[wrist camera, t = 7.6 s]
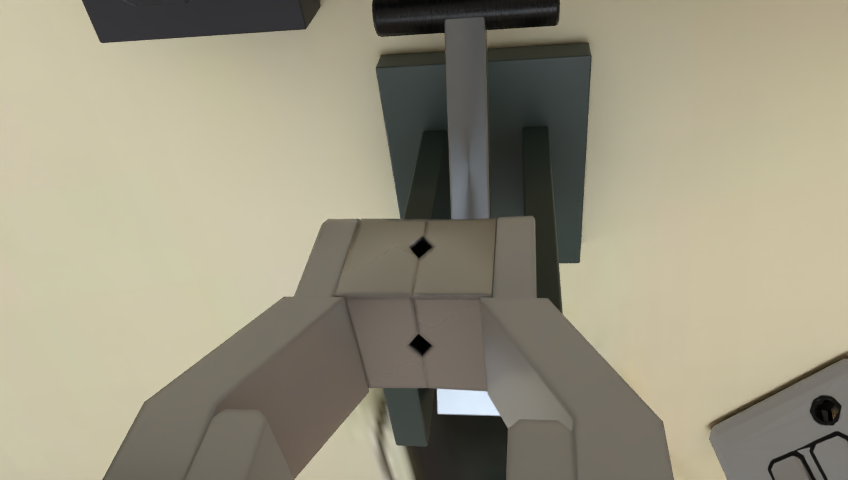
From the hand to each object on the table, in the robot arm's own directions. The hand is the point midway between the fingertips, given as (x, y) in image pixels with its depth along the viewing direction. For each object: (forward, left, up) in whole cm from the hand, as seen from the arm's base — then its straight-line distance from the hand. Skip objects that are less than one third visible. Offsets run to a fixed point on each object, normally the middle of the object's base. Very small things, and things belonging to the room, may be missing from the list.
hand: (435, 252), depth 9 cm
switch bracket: (+9, 0, -17) cm, 19 cm away
